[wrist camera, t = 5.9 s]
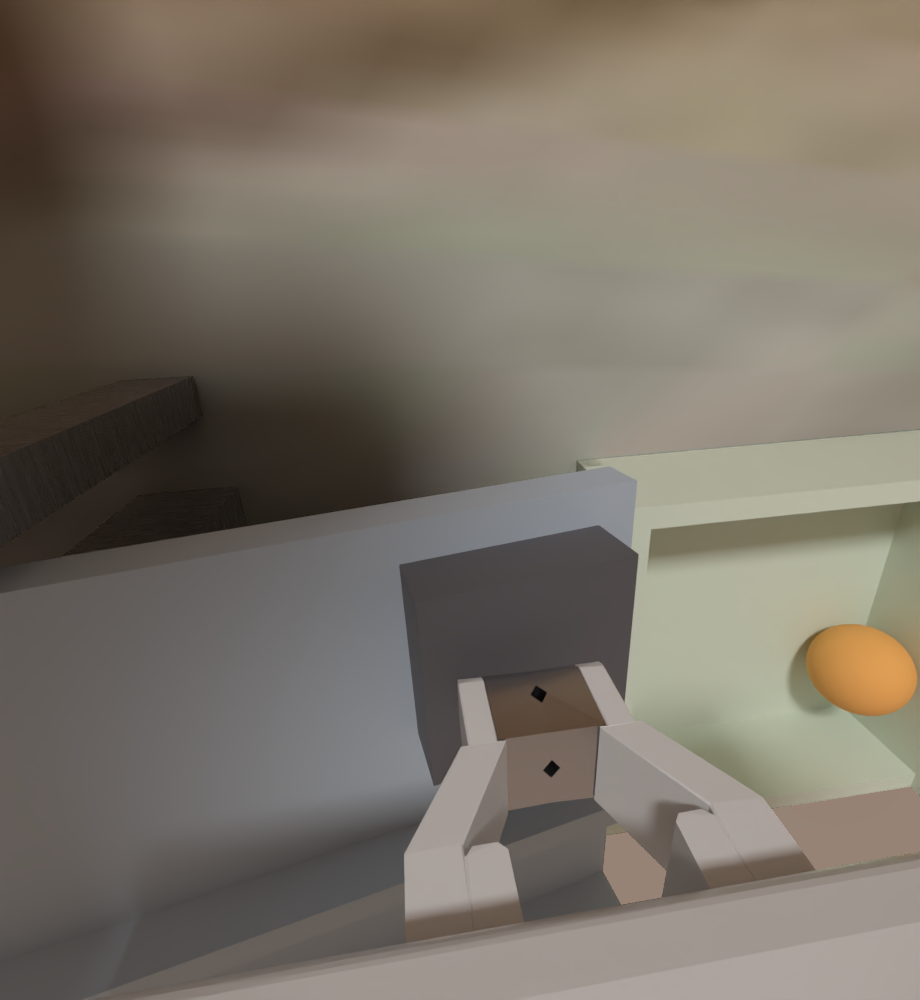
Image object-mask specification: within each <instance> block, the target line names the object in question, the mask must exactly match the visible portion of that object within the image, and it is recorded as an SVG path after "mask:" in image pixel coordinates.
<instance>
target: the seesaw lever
mask: <svg viewBox="0 0 920 1000" xmlns="http://www.w3.org/2000/svg"><path fill="white" fill-rule="evenodd" d="M636 490H637V480H635V479H633V478H631V477H629V476H627V475H625V474H623V473H621V472H619V471H618V470H616V469H614V468H612V467H610V466H608V467H602V468H596V469H590V470H584V471H578V472H572V473H566V474H560V475H554V476H548V477H542V478H536V479H530V480H524V481H518V482H512V483H506V484H500V485H494V486H488V487H482V488H475V489H469V490H463V491H457V492H451V493H445V494H439V495H433V496H427V497H421V498H415V499H409V500H403V501H397V502H391V503H385V504H379V505H373V506H367V507H361V508H355V509H349V510H342V511H336V512H330V513H324V514H318V515H312V516H306V517H300V518H294V519H288V520H282V521H276V522H270V523H264V524H258V525H252V526H246V527H240V528H234V529H228V530H222V531H216V532H210V533H203V534H197V535H191V536H185V537H179V538H173V539H167V540H161V541H155V542H149V543H143V544H137V545H131V546H125V547H119V548H113V549H107V550H101V551H95V552H89V553H83V554H77V555H70V556H64V557H58V558H52V559H46V560H40V561H34V562H28V563H22V564H16V565H10V566H4V567H0V1000H89V999H94V998H100V997H106V996H111V995H117V994H122V993H128V992H134V991H139V990H145V989H151V988H156V987H162V986H168V985H173V984H179V983H185V982H190V981H196V980H202V979H207V978H213V977H218V976H224V975H230V974H235V973H241V972H247V971H252V970H258V969H264V968H269V967H275V966H280V965H286V964H292V963H297V962H303V961H309V960H314V959H320V958H325V957H331V956H337V955H342V954H348V953H354V952H359V951H365V950H370V949H376V948H382V947H387V946H393V945H399V944H404V943H406V938H405V878H404V854H405V852H406V850H407V848H408V846H409V844H410V842H411V840H412V838H413V836H414V835H415V833H416V831H417V829H418V827H419V825H420V823H421V821H422V819H423V817H424V816H425V814H426V812H427V810H428V808H429V806H430V804H431V802H432V800H433V798H434V797H435V795H436V793H437V791H438V789H439V787H440V785H441V783H442V781H443V780H444V778H445V776H446V774H447V772H448V770H449V768H450V766H451V764H452V762H453V761H454V759H455V757H456V755H457V753H458V751H459V749H460V747H462V742H461V731H460V720H459V705H458V690H457V681H458V680H459V679H469V678H479V677H481V678H482V677H483V676H492V675H502V674H511V673H521V672H528V671H536V670H543V669H550V668H557V667H564V666H571V665H574V666H575V665H577V664H584V663H590V662H597V661H599V662H600V663H602V664H603V666H604V667H605V669H606V671H607V673H608V674H609V676H610V678H611V680H612V681H613V683H614V685H615V687H616V689H617V690H618V692H619V694H620V696H621V697H622V699H623V701H624V703H625V693H626V683H627V672H628V662H629V651H630V641H631V630H632V620H633V610H634V599H635V589H636V578H637V568H638V557H639V554H638V553H636V552H635V551H634V550H632V549H631V546H632V535H633V524H634V512H635V501H636ZM616 823H618V822H616V821H615V820H614V819H613V818H612V817H611V816H610V815H609V814H608V813H607V812H606V811H605V810H604V809H603V808H602V807H601V806H600V805H599V804H598V803H597V802H596V801H595V800H594V797H592V798H584V799H576V800H568V801H560V802H552V803H551V802H550V803H546V804H541V805H536V806H530V807H525V808H520V809H514V810H509V811H508V816H507V819H506V822H505V825H504V828H503V831H502V834H501V837H500V841H499V843H500V844H502V845H503V846H505V847H506V848H508V850H509V855H510V860H511V864H512V869H513V873H514V878H515V883H516V887H517V892H518V896H519V901H520V906H521V910H522V915H523V919H524V922H528V921H534V920H539V919H545V918H550V917H556V916H562V915H567V914H573V913H579V912H584V911H590V910H595V909H601V908H607V907H612V906H618V905H621V904H620V902H619V900H618V899H617V897H616V895H615V893H614V891H613V890H612V888H611V886H610V884H609V882H608V880H607V878H606V877H605V875H604V873H603V862H604V850H605V839H606V828H607V827H608V826H611V825H613V824H616Z"/></svg>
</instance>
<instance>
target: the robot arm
mask: <svg viewBox="0 0 920 1000" xmlns="http://www.w3.org/2000/svg"><path fill="white" fill-rule="evenodd" d="M457 690H458V705H459V720H460V731H461V742H462V747H460V749H459V751H458V753H457V755H456V757H455V759H454V761H453V762H452V764H451V766H450V768H449V770H448V772H447V774H446V776H445V778H444V780H443V781H442V783H441V785H440V787H439V789H438V791H437V793H436V795H435V797H434V798H433V800H432V802H431V804H430V806H429V808H428V810H427V812H426V814H425V816H424V817H423V819H422V821H421V823H420V825H419V827H418V829H417V831H416V833H415V835H414V836H413V838H412V840H411V842H410V844H409V846H408V848H407V850H406V852H405V854H404V878H405V938H406V943H404V944H399V945H393V946H387V947H382V948H376V949H370V950H365V951H359V952H354V953H348V954H342V955H337V956H331V957H325V958H320V959H314V960H309V961H303V962H297V963H292V964H286V965H280V966H275V967H269V968H264V969H258V970H252V971H247V972H241V973H235V974H230V975H224V976H218V977H213V978H207V979H202V980H196V981H190V982H185V983H179V984H173V985H168V986H162V987H156V988H151V989H145V990H139V991H134V992H128V993H122V994H117V995H111V996H106V997H100V998H94V999H89V1000H920V852H915V853H910V854H904V855H899V856H893V857H887V858H881V859H876V860H870V861H864V862H859V863H853V864H847V865H842V866H837V867H831V868H825V869H819V870H815V869H814V867H813V866H812V864H811V863H810V862H809V860H808V859H807V857H806V856H805V855H804V853H803V852H802V850H801V849H800V848H799V846H798V845H797V844H796V842H795V841H794V839H793V838H792V837H791V835H790V834H789V832H788V831H787V830H786V829H785V827H784V826H783V824H782V823H781V821H780V820H779V819H778V817H777V816H776V815H775V813H774V812H773V810H772V809H771V808H770V806H769V805H768V803H767V802H766V801H765V799H764V798H763V797H762V796H760V795H759V794H757V793H755V792H754V791H752V790H751V789H749V788H748V787H746V786H744V785H743V784H741V783H740V782H738V781H737V780H735V779H733V778H732V777H730V776H729V775H727V774H726V773H724V772H722V771H721V770H719V769H718V768H716V767H715V766H713V765H711V764H710V763H708V762H707V761H705V760H703V759H702V758H700V757H699V756H697V755H696V754H694V753H692V752H691V751H689V750H688V749H686V748H685V747H683V746H681V745H680V744H678V743H677V742H675V741H674V740H672V739H670V738H669V737H667V736H666V735H664V734H663V733H661V732H659V731H658V730H656V729H655V728H653V727H652V726H650V725H648V724H647V723H645V722H644V721H637V722H635V720H634V718H633V717H632V715H631V713H630V711H629V710H628V708H627V706H626V704H625V703H624V701H623V699H622V697H621V696H620V694H619V692H618V690H617V689H616V687H615V685H614V683H613V681H612V680H611V678H610V676H609V674H608V673H607V671H606V669H605V667H604V666H603V664H602V663H600V662H599V661H597V662H590V663H584V664H577V665H575V666H574V665H571V666H564V667H557V668H550V669H543V670H536V671H528V672H521V673H511V674H502V675H492V676H483V677H482V678H481V677H479V678H469V679H459V680H458V681H457ZM592 797H594V800H595V801H596V802H597V803H598V804H599V805H600V806H601V807H602V808H603V809H604V810H605V811H606V812H607V813H608V814H609V815H610V816H611V817H612V818H613V819H614V820H615V821H616V822H618V823H619V824H620V825H621V826H622V827H623V828H624V829H625V830H626V831H627V832H628V833H629V834H630V835H631V836H632V837H633V838H634V839H635V840H636V841H637V842H638V843H639V844H640V845H641V846H642V847H643V848H644V849H645V850H646V851H647V852H648V853H649V854H650V855H651V856H652V857H653V858H654V859H655V860H656V861H658V863H659V864H660V865H661V866H663V868H665V870H667V872H666V878H665V884H664V889H663V894H662V898H657V899H652V900H646V901H641V902H635V903H629V904H624V905H618V906H612V907H607V908H601V909H595V910H590V911H584V912H579V913H573V914H567V915H562V916H556V917H550V918H545V919H539V920H534V921H528V922H524V919H523V915H522V910H521V906H520V901H519V896H518V892H517V887H516V883H515V878H514V873H513V869H512V864H511V860H510V855H509V850H508V848H506V847H505V846H503V845H502V844H500V843H499V841H500V837H501V834H502V831H503V828H504V825H505V822H506V819H507V816H508V811H509V810H514V809H520V808H525V807H530V806H536V805H541V804H546V803H550V802H551V803H552V802H560V801H568V800H576V799H584V798H592Z"/></svg>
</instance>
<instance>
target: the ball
mask: <svg viewBox="0 0 920 1000" xmlns="http://www.w3.org/2000/svg"><path fill="white" fill-rule="evenodd" d="M806 667H807V672H808V675H809V677H810V679H811V681H812V683H813V685H814V686H815V688H816V689H817V690H818V691H819V693H820V694H821V695H822V696H823V697H824V698H826V699H827V700H828V701H829V702H831V703H832V704H834V705H835V706H837V707H839V708H841V709H843V710H845V711H848V712H851V713H854V714H858V715H865V716H881V715H886V714H890V713H893V712H895V711H897V710H899V709H900V708H902V707H903V706H905V705H906V704H907V703H908V702H909V701H910V699H911V698H912V696H913V695H914V692H915V690H916V686H917V672H916V668H915V665H914V662H913V660H912V658H911V656H910V655H909V653H908V652H907V651H906V649H905V648H904V647H903V646H902V645H901V644H900V643H899V642H898V641H896V640H895V639H894V638H893V637H891V636H890V635H888V634H886V633H885V632H882V631H880V630H878V629H875V628H873V627H869V626H865V625H860V624H842V625H837V626H833V627H831V628H828V629H826V630H824V631H822V632H821V633H820V634H819V635H817V636H816V637H815V638H814V639H813V641H812V642H811V644H810V645H809V648H808V651H807V655H806Z"/></svg>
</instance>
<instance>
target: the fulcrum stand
mask: <svg viewBox="0 0 920 1000" xmlns="http://www.w3.org/2000/svg"><path fill="white" fill-rule="evenodd" d="M201 416H203V415H202V411H201V407H200V403H199V399H198V395H197V391H196V387H195V383H194V379H193V376H187V377H173V378H158V379H144V380H129V381H119V382H116V383H113V384H110V385H107V386H104V387H101V388H98V389H95V390H92V391H89V392H86V393H83V394H80V395H77V396H74V397H71V398H67V399H64V400H61V401H58V402H55V403H52V404H49V405H46V406H43V407H40V408H37V409H34V410H31V411H28V412H25V413H22V414H19V415H16V416H13V417H10V418H7V419H4V420H0V547H2V546H3V545H5V544H6V543H8V542H10V541H11V540H13V539H14V538H16V537H17V536H19V535H20V534H22V533H23V532H25V531H26V530H28V529H29V528H31V527H33V526H34V525H36V524H37V523H39V522H40V521H42V520H43V519H45V518H46V517H48V516H49V515H51V514H52V513H54V512H56V511H57V510H59V509H60V508H62V507H63V506H65V505H66V504H68V503H69V502H71V501H72V500H74V499H76V498H77V497H79V496H80V495H82V494H83V493H85V492H86V491H88V490H89V489H91V488H92V487H94V486H95V485H97V484H99V483H100V482H102V481H103V480H105V479H106V478H108V477H109V476H111V475H112V474H114V473H115V472H117V471H118V470H120V469H122V468H123V467H125V466H126V465H128V464H129V463H131V462H132V461H134V460H135V459H137V458H138V457H140V456H141V455H143V454H145V453H146V452H148V451H149V450H151V449H152V448H154V447H155V446H157V445H158V444H160V443H161V442H163V441H165V440H166V439H168V438H169V437H171V436H172V435H174V434H175V433H177V432H178V431H180V430H181V429H183V428H184V427H186V426H188V425H189V424H191V423H192V422H194V421H195V420H197V419H198V418H200V417H201ZM240 527H246V522H245V518H244V513H243V509H242V505H241V501H240V497H239V492H238V488H237V487H227V488H216V489H204V490H193V491H182V492H171V493H160V494H148V495H138V496H137V497H136V498H134V499H133V500H132V501H131V502H129V503H128V504H127V505H126V506H124V507H123V508H122V509H121V510H119V511H118V512H117V513H116V514H114V515H113V516H112V517H111V518H109V519H108V520H107V521H106V522H104V523H103V524H102V525H101V526H99V527H98V528H97V529H96V530H94V531H93V532H92V533H91V534H89V535H88V536H87V537H86V538H84V539H83V540H82V541H81V542H79V543H78V544H77V545H76V546H74V547H73V548H72V549H71V550H69V551H68V552H67V553H66V554H64V555H63V556H62V557H64V556H70V555H77V554H83V553H89V552H95V551H101V550H107V549H113V548H119V547H125V546H131V545H137V544H143V543H149V542H155V541H161V540H167V539H173V538H179V537H185V536H191V535H197V534H203V533H210V532H216V531H222V530H228V529H234V528H240Z"/></svg>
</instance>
